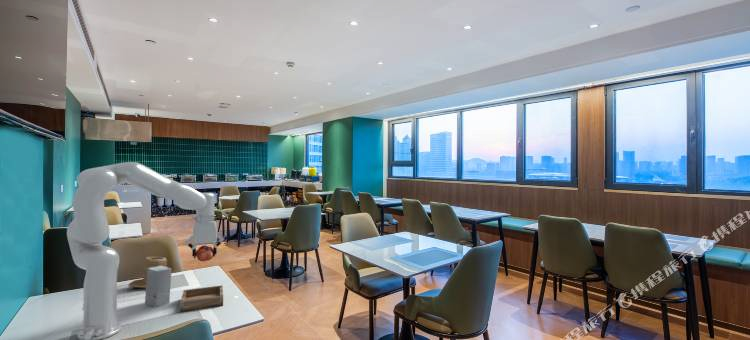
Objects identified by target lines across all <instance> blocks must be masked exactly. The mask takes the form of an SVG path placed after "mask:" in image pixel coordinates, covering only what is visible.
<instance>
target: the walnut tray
mask: <svg viewBox="0 0 750 340" xmlns="http://www.w3.org/2000/svg"><path fill="white" fill-rule="evenodd" d="M179 303H180V305H179V306H180V313H184V312H190V311H196V310H198V311H199V310H203V309H209V308H217V307H223V306H224V287H223V285H213V286H206V287H198V288H192V289H190V288H189V289H183V292H182V296H181V299H180V302H179Z"/></svg>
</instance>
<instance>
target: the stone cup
mask: <svg viewBox="0 0 750 340" xmlns="http://www.w3.org/2000/svg"><path fill="white" fill-rule="evenodd" d="M167 262H168V260H167V258H166V257H164V256H163V257H162V256H146V257H145V258H144V260H143V262H142V271H143V277H142V278H140V279H135V280H133V281H131V282H130V283H128V287H129V288H141V289H146V283H147V269H148V268H152V267H157V266H164V267H167V264H168V263H167Z"/></svg>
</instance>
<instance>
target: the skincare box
mask: <svg viewBox="0 0 750 340" xmlns="http://www.w3.org/2000/svg"><path fill="white" fill-rule="evenodd" d="M171 282H172V268H170V267H168V266H166V267H164V266H157V267H152V268H148V269H147V283H146V288H145V296H144V297H145V298H144V305H149V306H151V307H154V308H158V307H160V306H164V305H166V304H169V303H170V298H171Z"/></svg>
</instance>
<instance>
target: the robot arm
mask: <svg viewBox="0 0 750 340" xmlns="http://www.w3.org/2000/svg"><path fill="white" fill-rule="evenodd" d="M76 183H77V185H78V188H77V189H76V190H75V193H74V194H73V198H72V209H73V215H74V219H73V220H72V221H71V222H70V223H69V224H68V226H67V229H66V237H67V242H68V245H69V250H70V253H71V257H72V260H73V263H74V264H75V265H76V266H77V267H78V268H80V269H81V270H84V271H85V276H84V280H83V292H82V293H83V317H82V318H83V322H82V323H83V325H82V327H83V328H82V329H83V330H81V331H79V332H78V334H77V339H78V340H102V339H105V338H109V337H111V336H113V335H116V334H117V333H119V332H121V331H122V329H123V325H122V323H120V322H118V318H117V317H118V313H117V312H118V311H117V310H118V307H117V305H118V296H117V295H118V272H119V271H118V270H119V266H120V255H119V253H118V252H117V250H116V249H114V248H113V247H110V246H107V245H103V242H105V241H106V240H107V239H108V238H109V236H110V226H109V222H108V218H107V215H106V210H105V198H106V196H107V194H108V193H109V192H110V191H111V190H112V189H114V187H116V186H120V185H123V184H130V185H132V186H134V187H137V188H139V189H141V190H143V191H144V192H145V191H146V192H147V193H148V194H151V195H154V196H155V197H159V198H162V199H167V200H173V201H174V202H175V201H176V205H177V207H179V208H180V209H182V210H189V211H190V210H192V211H196V212H195V213H196V214H195V216H193V217H192V220H193V221H194V223H193V228H192V235H191V236H190V237H188V238H187V239H185V241H184V243H185V244H186V245H187V246H188V247H189V248H190V249H191V250H192V252H191V253H192V255H191V256H192V257H193V259H196V258H197V256H196V251H197V246H198V245H211V244H212V246H213V247H212V249H213V258H214V257H216V255H217V253H218V252H217V249H218V247H219V246H220V245H221V244H222V243H223V241H224V240H225V238H224V237H222V235H219V234H218V229H217V228H218V227H217V222H216V221H215V197H216V196H215V193H213V192H200V191H198V190H196V189H194V188H193V187H190V186H188V185H185V184H183V183H180V182H179V181H176V180H174V179H171V178H169V177H167V176H165V175H162V174H161V173H158V172H157V171H155V170H153V169H152V168H150V167H148V166H146V165H144V164H142V163H140V162H138V161H137V162H136V161H135V162H134V161H127V162H117V163H114V164H108V165H103V166H98V167H97V166H96V167H92V168H87V169H85V170H83V171H81V172H80V173H79V174H78V175H77V178H76ZM218 239H219V240H218ZM190 241H192V243H191V242H190ZM217 241H218V242H217Z"/></svg>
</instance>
